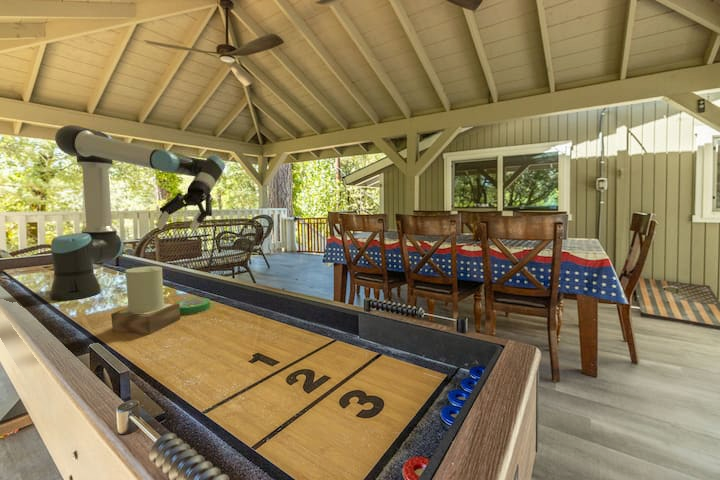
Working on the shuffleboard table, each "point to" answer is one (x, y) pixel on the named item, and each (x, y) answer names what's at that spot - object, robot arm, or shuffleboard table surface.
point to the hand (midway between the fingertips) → (175, 228)
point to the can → (144, 289)
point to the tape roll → (197, 303)
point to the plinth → (145, 319)
